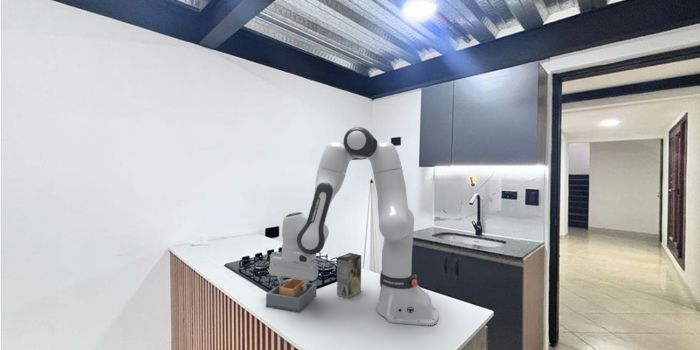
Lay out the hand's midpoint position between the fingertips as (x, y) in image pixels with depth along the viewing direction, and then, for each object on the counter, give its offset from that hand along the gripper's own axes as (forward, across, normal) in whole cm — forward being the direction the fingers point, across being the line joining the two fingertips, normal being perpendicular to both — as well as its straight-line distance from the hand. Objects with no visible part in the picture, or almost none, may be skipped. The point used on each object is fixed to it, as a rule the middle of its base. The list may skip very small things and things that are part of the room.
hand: (293, 288), depth 112 cm
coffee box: (+6, +19, +14) cm, 24 cm away
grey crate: (+5, 0, 0) cm, 5 cm away
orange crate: (+4, 0, 0) cm, 4 cm away
